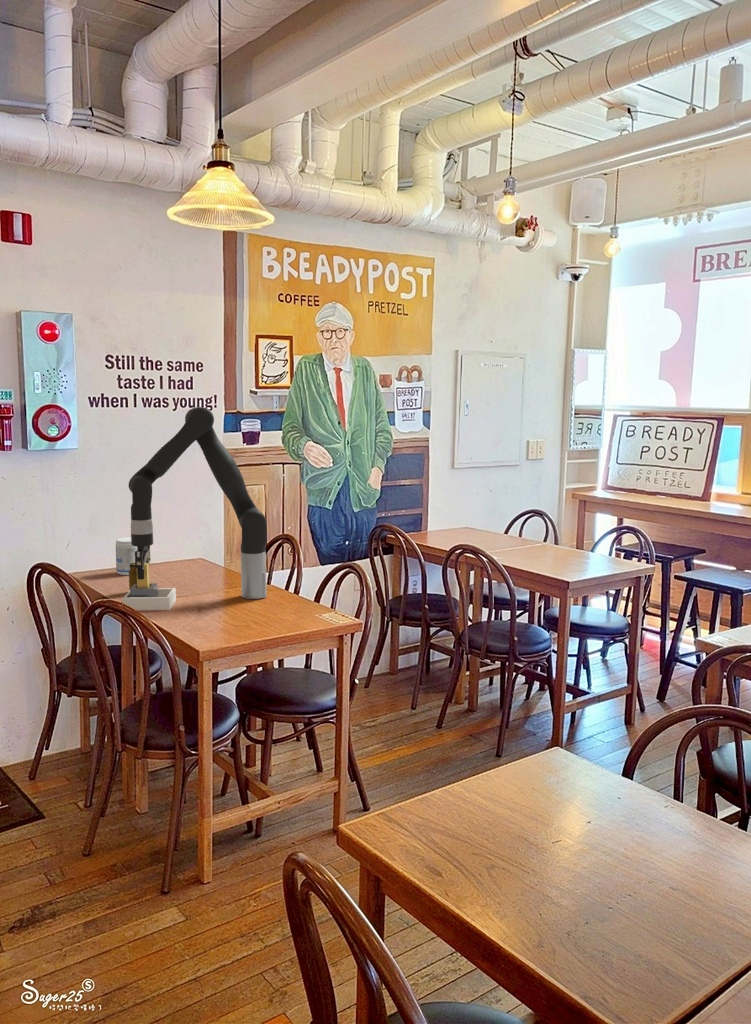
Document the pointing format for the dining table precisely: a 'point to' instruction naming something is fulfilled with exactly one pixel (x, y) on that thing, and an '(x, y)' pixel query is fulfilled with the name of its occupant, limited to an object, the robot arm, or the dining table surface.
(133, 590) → the socket
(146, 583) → the plug
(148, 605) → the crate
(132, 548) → the supplement tub
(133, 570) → the condiment
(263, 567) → the robot arm
